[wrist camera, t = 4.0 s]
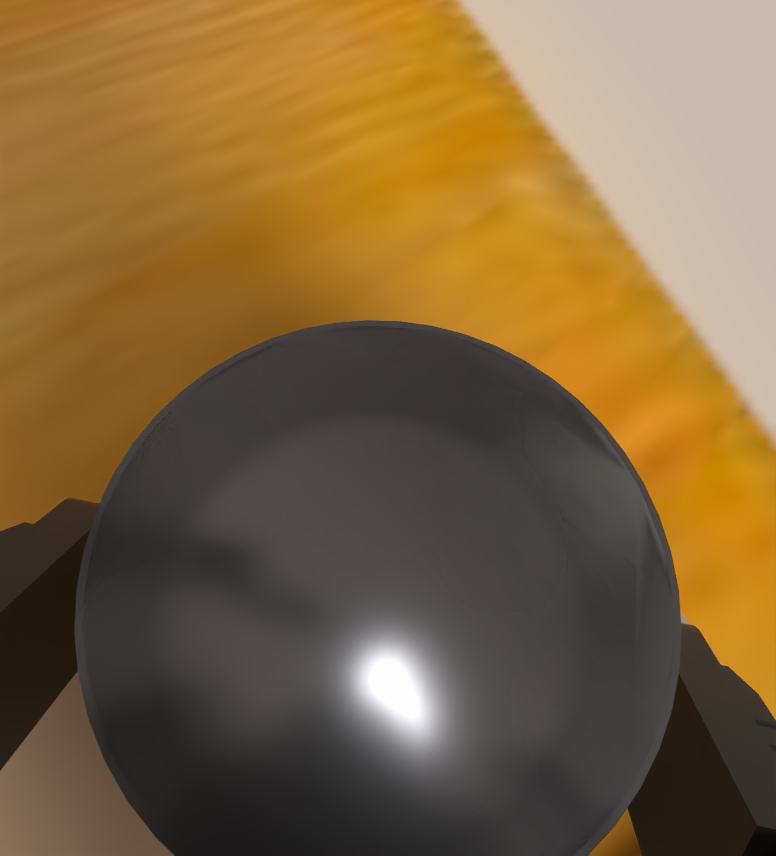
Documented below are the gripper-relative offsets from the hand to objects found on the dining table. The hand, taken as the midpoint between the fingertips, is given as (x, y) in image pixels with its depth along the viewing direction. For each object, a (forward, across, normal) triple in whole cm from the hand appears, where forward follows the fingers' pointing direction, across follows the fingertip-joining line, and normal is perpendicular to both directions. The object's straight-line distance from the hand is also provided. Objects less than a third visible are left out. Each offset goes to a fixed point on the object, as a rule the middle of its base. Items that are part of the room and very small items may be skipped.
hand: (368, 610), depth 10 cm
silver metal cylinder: (+5, 0, +6) cm, 8 cm away
